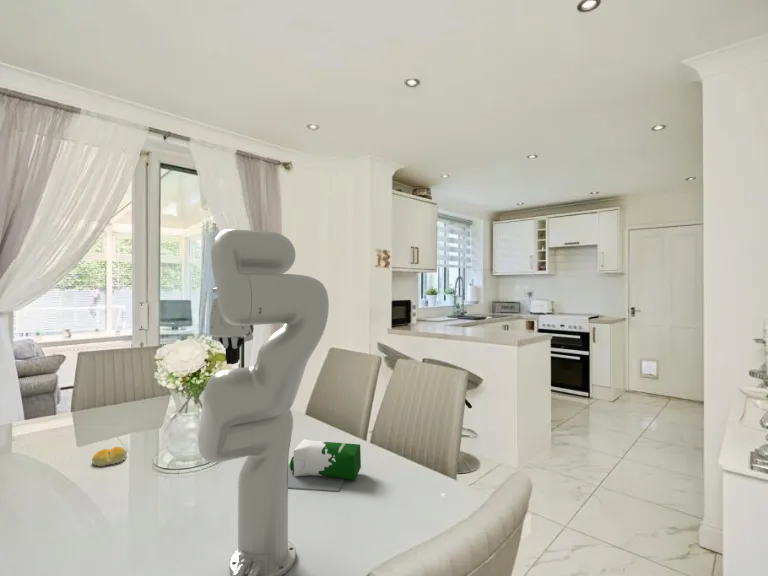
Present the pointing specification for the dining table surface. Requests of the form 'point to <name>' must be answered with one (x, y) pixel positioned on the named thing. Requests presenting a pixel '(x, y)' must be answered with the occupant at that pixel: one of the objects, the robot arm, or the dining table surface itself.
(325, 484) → the placemat
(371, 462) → the dining table surface
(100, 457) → the bread roll
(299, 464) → the white and green box
